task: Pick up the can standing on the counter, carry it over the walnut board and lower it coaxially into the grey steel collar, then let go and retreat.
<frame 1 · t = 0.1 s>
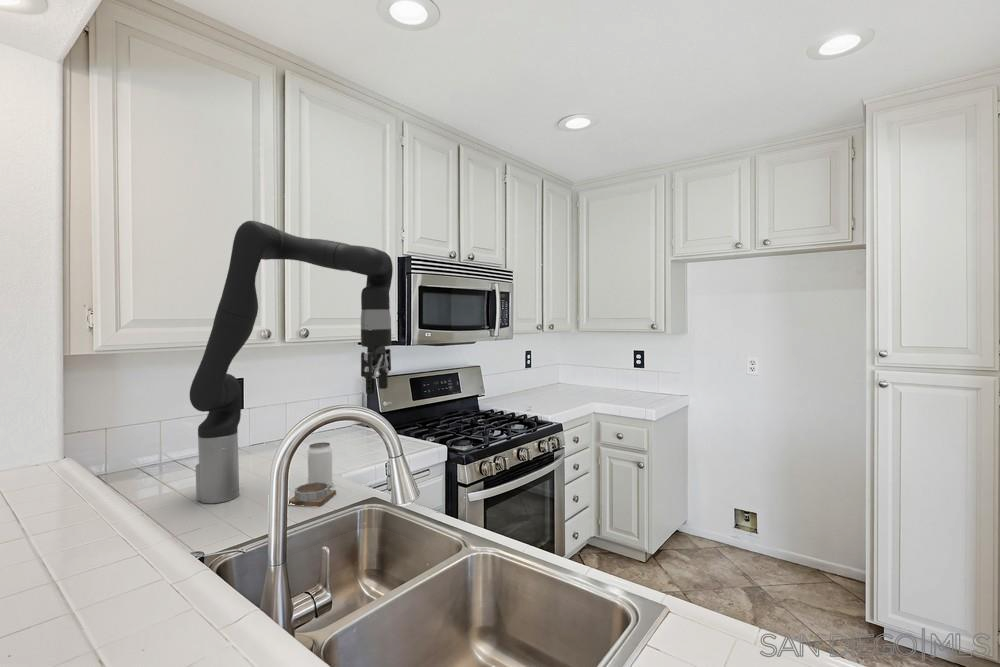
hand: (377, 391, 125), 29 cm above the counter, tool pointing down, fingers open, 8 cm apart
can: (320, 487, 139), on the counter
collar: (312, 491, 129), on the board, point 2 cm above the counter
board: (312, 499, 129), on the counter
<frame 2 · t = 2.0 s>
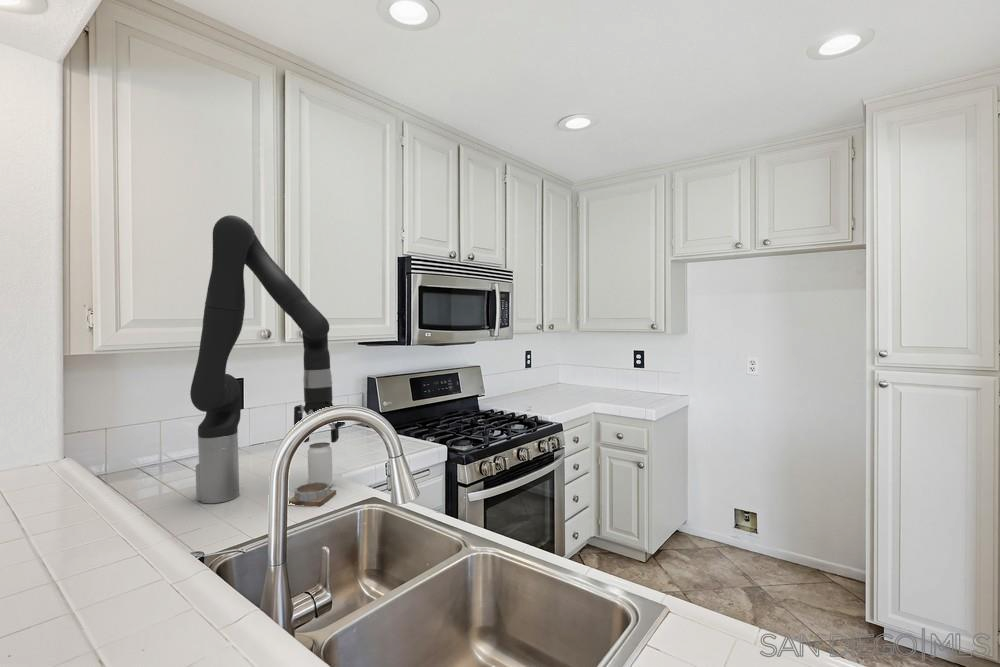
hand: (320, 441, 139), 13 cm above the counter, tool pointing down, fingers open, 8 cm apart
nothing on the counter moved.
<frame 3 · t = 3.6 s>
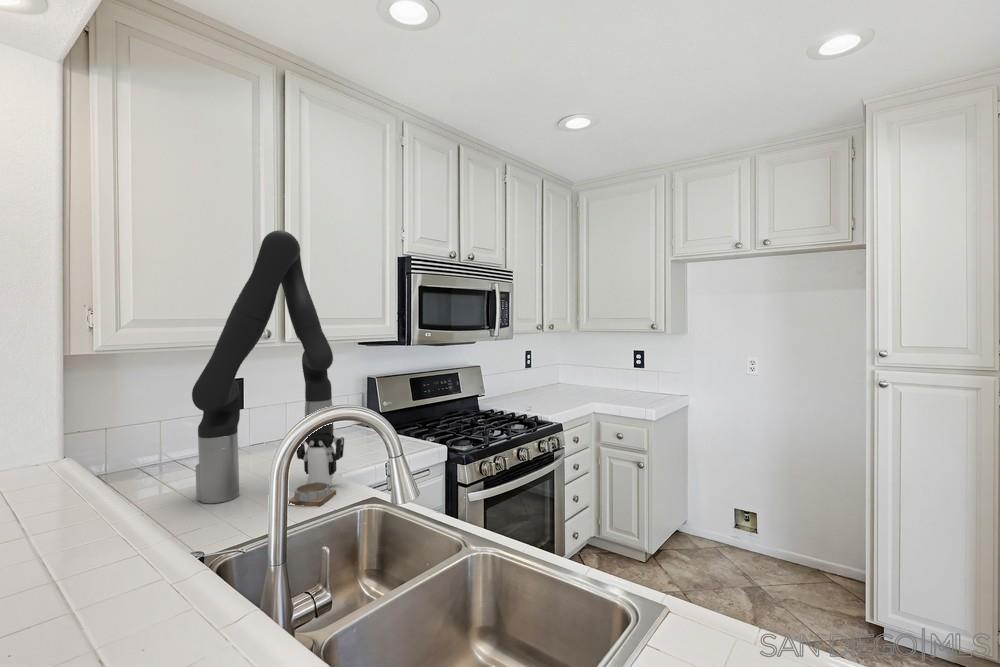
hand: (320, 473, 139), 4 cm above the counter, tool pointing down, fingers closed on can, 6 cm apart
can: (320, 487, 139), on the counter, touching gripper
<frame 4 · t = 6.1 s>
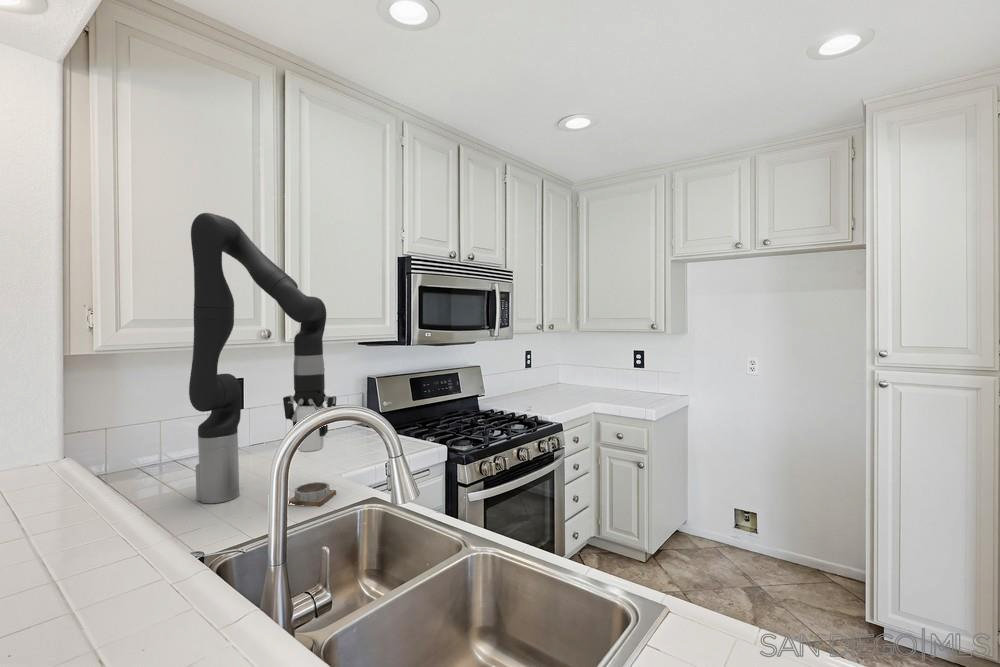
hand: (310, 435, 128), 17 cm above the counter, tool pointing down, fingers closed on can, 6 cm apart
can: (310, 450, 128), point 13 cm above the counter, touching gripper
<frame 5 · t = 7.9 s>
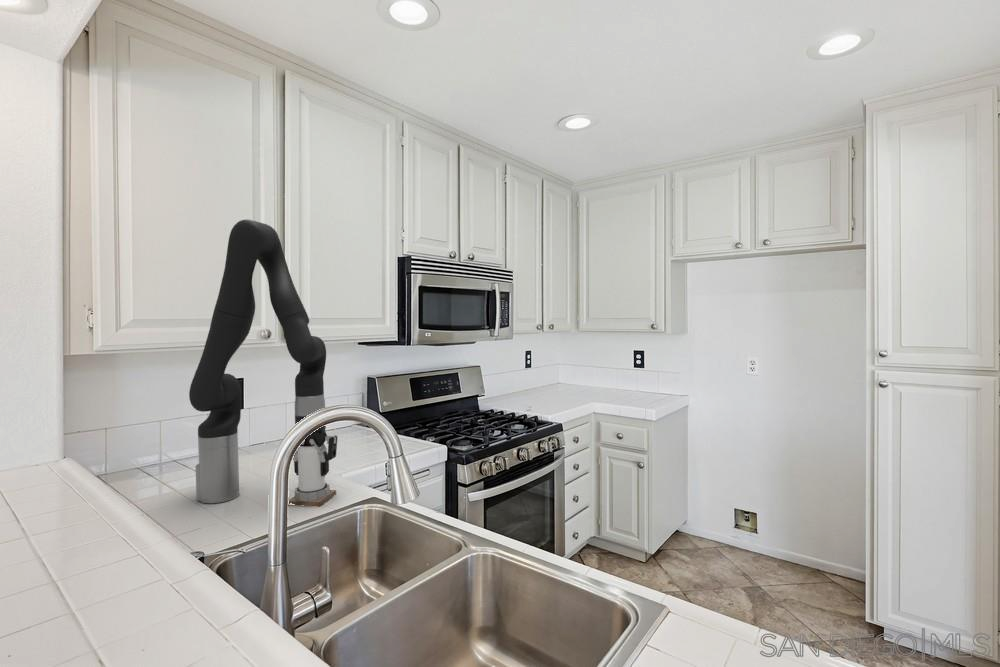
hand: (311, 474, 129), 7 cm above the counter, tool pointing down, fingers closed on can, 6 cm apart
can: (312, 489, 129), point 3 cm above the counter, touching gripper
when the fingers open (6 cm above the counter, at t = 8.9 s): can drops 1 cm, resting on board.
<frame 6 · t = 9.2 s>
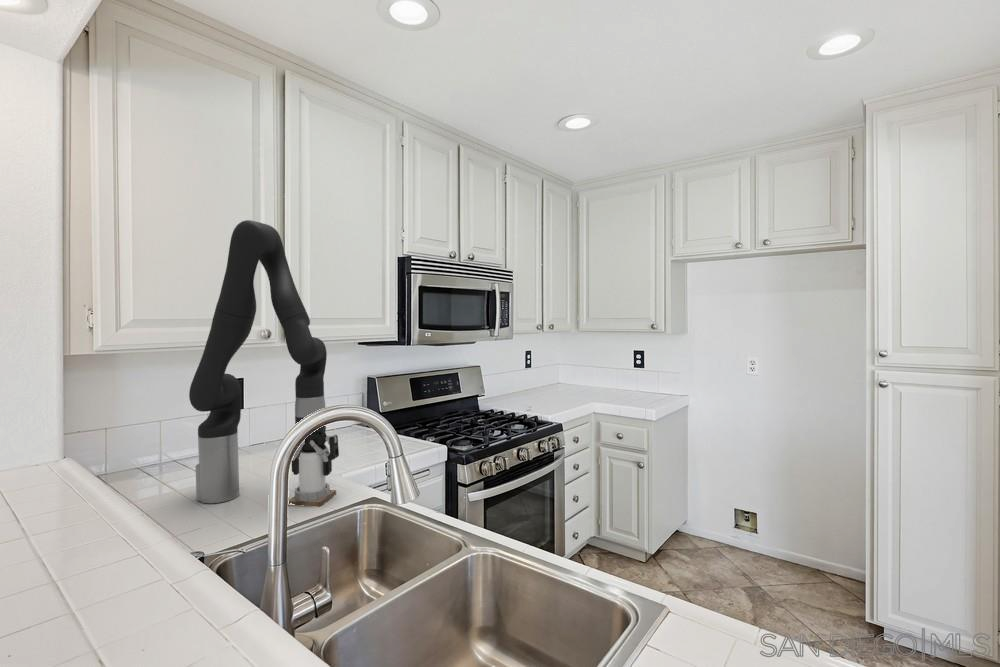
hand: (311, 474, 129), 7 cm above the counter, tool pointing down, fingers open, 8 cm apart
can: (312, 495, 129), point 1 cm above the counter, touching board
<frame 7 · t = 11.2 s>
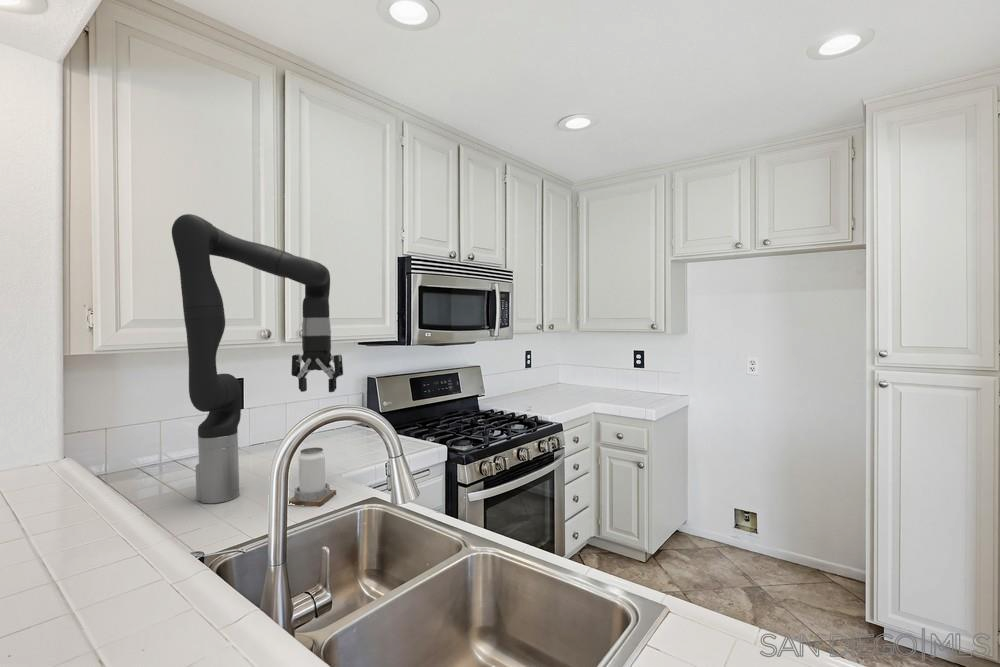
hand: (317, 391, 137), 27 cm above the counter, tool pointing down, fingers open, 8 cm apart
nothing on the counter moved.
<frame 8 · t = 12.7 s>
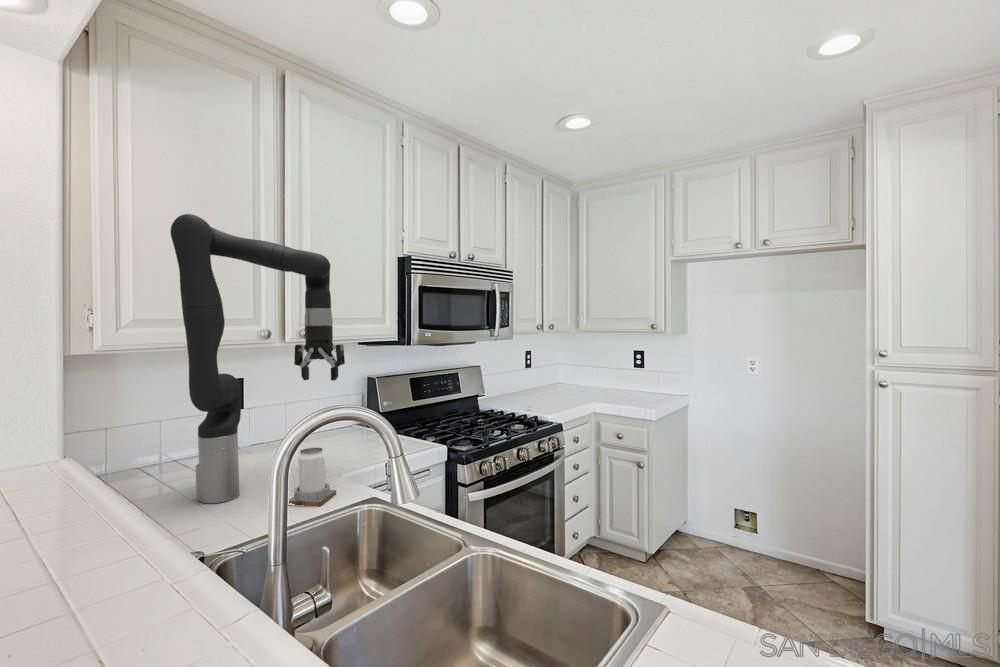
hand: (320, 380, 141), 30 cm above the counter, tool pointing down, fingers open, 8 cm apart
nothing on the counter moved.
at the end: can 0.1 cm from the collar (horizontally); can point 1.0 cm above the counter; can tilted 0° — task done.
